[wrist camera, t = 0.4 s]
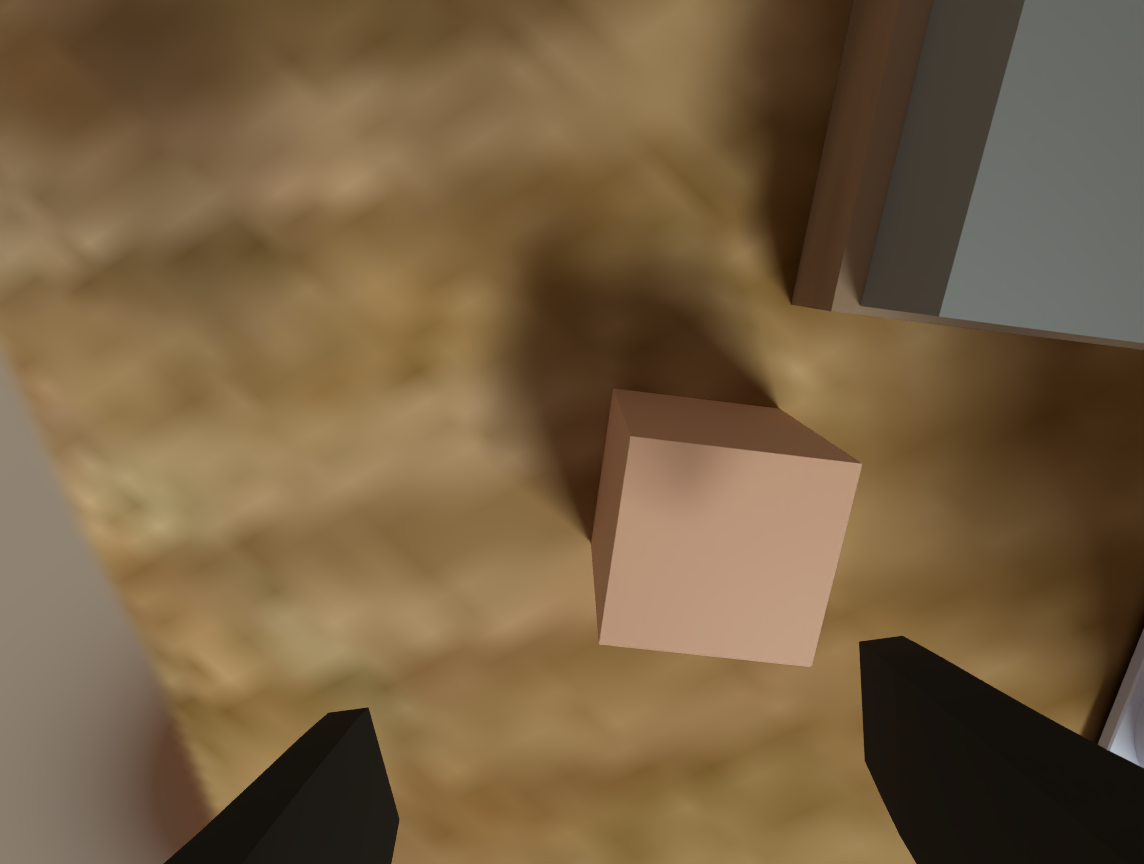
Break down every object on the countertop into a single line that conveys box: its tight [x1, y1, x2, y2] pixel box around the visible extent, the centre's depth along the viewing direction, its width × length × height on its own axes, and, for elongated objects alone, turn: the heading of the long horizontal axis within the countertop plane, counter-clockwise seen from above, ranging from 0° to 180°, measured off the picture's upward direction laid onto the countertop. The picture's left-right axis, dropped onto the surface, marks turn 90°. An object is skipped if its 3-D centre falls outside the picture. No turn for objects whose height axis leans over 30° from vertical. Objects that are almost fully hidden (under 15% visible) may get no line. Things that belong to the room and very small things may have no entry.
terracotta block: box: [591, 388, 862, 667], centre depth 15 cm, size 4×4×5 cm
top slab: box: [860, 0, 1144, 343], centre depth 11 cm, size 7×7×3 cm
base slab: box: [791, 0, 1144, 350], centre depth 14 cm, size 8×8×3 cm
